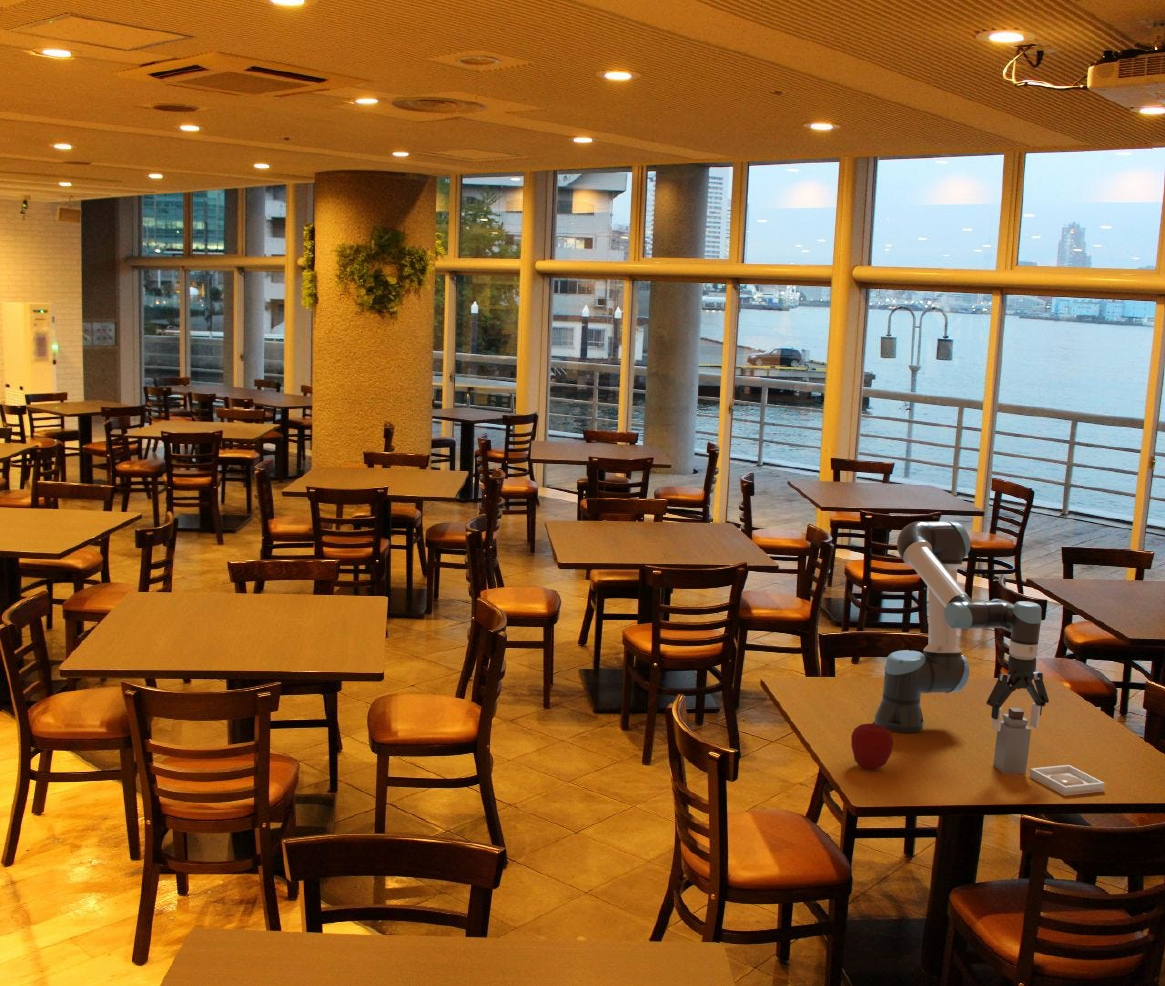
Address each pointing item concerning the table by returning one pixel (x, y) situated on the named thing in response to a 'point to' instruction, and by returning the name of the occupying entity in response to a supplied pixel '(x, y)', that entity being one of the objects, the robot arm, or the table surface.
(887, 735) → the apple
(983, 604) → the robot arm
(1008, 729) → the perfume bottle
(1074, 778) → the tray
